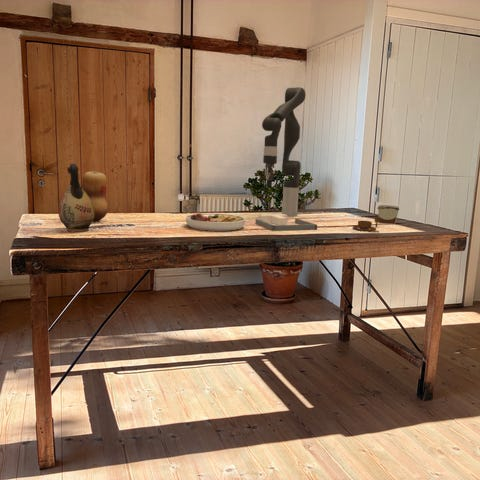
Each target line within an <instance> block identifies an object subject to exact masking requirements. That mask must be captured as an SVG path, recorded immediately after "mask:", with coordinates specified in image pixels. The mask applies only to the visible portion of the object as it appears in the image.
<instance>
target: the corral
mask: <svg viewBox="0 0 480 480" xmlns="http://www.w3.org/2000/svg"><path fill="white" fill-rule="evenodd" d="M255 225H258V226H259V227H263V228H265V229H267V230H270V231H272V232H273V231H275V232H276V231H278V232H279V231H311V230H312V231H314V230H315V231H316V230H318V224H316V223H314V222H311V221H307V220H303V219H301V218H294V224H286V225H276V224H273V223H267V222H265V221H262V220H259V218H256V219H255Z"/></svg>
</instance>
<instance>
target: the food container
mask: <svg viewBox="0 0 480 480" xmlns="http://www.w3.org/2000/svg"><path fill="white" fill-rule="evenodd" d="M399 207H400V206H397V205H386V204H380V205H378V206H377V211H378V212H377V213H378V216H377V217H379V222H378V224H387V225H396V223H397V219H398V218H397V217H398V213H399V211H400V208H399Z"/></svg>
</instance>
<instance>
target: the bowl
mask: <svg viewBox="0 0 480 480" xmlns="http://www.w3.org/2000/svg"><path fill="white" fill-rule="evenodd" d="M246 220H247V219H246V218H245V217H243V216H239V215H235V214H225V213H201V212H198V213H193V214H190V215H187V216H185V223H186V225H187V226H189V227H190V228H192V229H194V230H198V229H199V231H205V230H208V231H207V232H231V231H230V230H233V231H238V230H240V229H242V228H243V227H244V226H245V224H246V222H247V221H246ZM237 229H238V230H237Z"/></svg>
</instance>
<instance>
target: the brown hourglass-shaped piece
mask: <svg viewBox="0 0 480 480" xmlns="http://www.w3.org/2000/svg"><path fill="white" fill-rule="evenodd" d="M107 183H108V181H107V176H106V175H105V174H104V173H103V172H99V171H86V172H85V173H84V174H83V176H82V180H81V187H82V188H83V189H84V191H85V192H86V193H87V195H88V196H89V198H90V200H91V201H92V204H93V207H94V212H95V216H94V220H93V222H100V221H101V220H103V219H104V217H106V216H107V213H108V203H107V200H106V194H107V189H108V188H107Z"/></svg>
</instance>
